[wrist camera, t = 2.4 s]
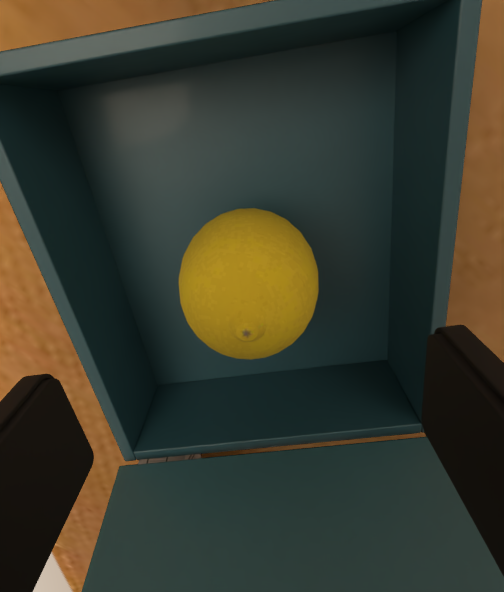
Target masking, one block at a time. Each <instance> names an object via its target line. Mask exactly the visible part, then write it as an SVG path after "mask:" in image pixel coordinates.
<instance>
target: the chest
mask: <svg viewBox="0 0 504 592" xmlns="http://www.w3.org/2000/svg"><path fill="white" fill-rule="evenodd" d="M481 6H482V0H274V1H269V2H263V3H258V4H252V5H247V6H242V7H236V8H231V9H226V10H220V11H215V12H210V13H204V14H199V15H193V16H188V17H183V18H177V19H172V20H167V21H161V22H156V23H151V24H145V25H140V26H134V27H129V28H124V29H118V30H113V31H108V32H102V33H97V34H91V35H86V36H81V37H75V38H70V39H65V40H59V41H54V42H49V43H43V44H38V45H32V46H27V47H22V48H16V49H11V50H6V51H0V181H1V184H2V186H3V188H4V190H5V193H6V195H7V197H8V199H9V202H10V204H11V206H12V208H13V211H14V213H15V215H16V217H17V220H18V222H19V224H20V226H21V228H22V231H23V233H24V235H25V237H26V240H27V242H28V244H29V246H30V249H31V251H32V253H33V255H34V258H35V260H36V262H37V264H38V267H39V269H40V271H41V273H42V276H43V278H44V280H45V282H46V285H47V287H48V289H49V291H50V294H51V296H52V298H53V300H54V303H55V305H56V307H57V309H58V312H59V314H60V316H61V318H62V321H63V323H64V325H65V327H66V329H67V332H68V334H69V336H70V338H71V341H72V343H73V345H74V347H75V350H76V352H77V354H78V356H79V359H80V361H81V363H82V365H83V368H84V370H85V372H86V374H87V377H88V379H89V381H90V383H91V386H92V388H93V390H94V392H95V395H96V397H97V399H98V401H99V404H100V406H101V408H102V410H103V413H104V415H105V417H106V419H107V422H108V424H109V426H110V428H111V430H112V433H113V435H114V437H115V439H116V442H117V444H118V446H119V448H120V451H121V453H122V455H123V457H124V460H125V461H133V460H136V459H137V460H142V459H153V458H163V457H174V456H184V455H194V454H205V453H215V452H226V451H236V450H246V449H257V448H267V447H277V446H288V445H298V444H309V443H319V442H329V441H340V440H350V439H361V438H371V437H381V436H392V435H402V434H412V433H420V432H424V429H423V426H422V421H421V415H422V402H423V388H424V375H425V362H426V349H427V339H428V336H429V335H431V334H434V332H435V330H436V329H437V328H439V327H446V318H447V309H448V300H449V291H450V282H451V273H452V264H453V255H454V246H455V237H456V229H457V220H458V211H459V202H460V193H461V184H462V175H463V166H464V157H465V148H466V140H467V131H468V122H469V113H470V104H471V95H472V86H473V77H474V68H475V59H476V50H477V42H478V33H479V24H480V15H481ZM246 208H256V209H261V210H266V211H270V212H273V213H275V214H277V215H279V216H281V217H283V218H285V219H286V220H288V221H289V222H290V223H291V224H292V225H293V226H294V227H296V228H297V229H298V230H299V231H300V232H301V234H302V235H303V237H304V238H305V240H306V241H307V243H308V244H309V246H310V247H311V249H312V252H313V255H314V258H315V261H316V265H317V268H318V297H317V301H316V305H315V309H314V313H313V316H312V318H311V320H310V322H309V323H308V325H307V327H306V329H305V330H304V332H303V333H302V334H301V335H300V336H299V337H298V338H297V339H296V341H295V342H294V343H293V344H291V345H290V346H288V347H287V348H285V349H283V350H282V351H280V352H279V353H276V354H274V355H271V356H268V357H265V358H259V359H251V360H250V359H236V358H233V357H229V356H226V355H223V354H221V353H219V352H217V351H215V350H213V349H211V348H210V347H209V346H207V345H206V344H205V343H204V342H203V341H202V340H200V339H199V338H198V337H197V336H196V334H195V333H194V331H193V330H192V329H191V327H190V326H189V324H188V322H187V320H186V317H185V315H184V312H183V309H182V306H181V303H180V292H179V274H180V269H181V264H182V259H183V256H184V254H185V252H186V250H187V248H188V246H189V244H190V242H191V240H192V238H193V237H194V236H195V235H196V234H197V233H198V232H199V231H200V230H201V229H202V227H203V226H204V225H205V224H206V223H208V222H209V221H211V220H213V219H214V218H216V217H217V216H219V215H221V214H223V213H226V212H229V211H232V210H236V209H246Z"/></svg>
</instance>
